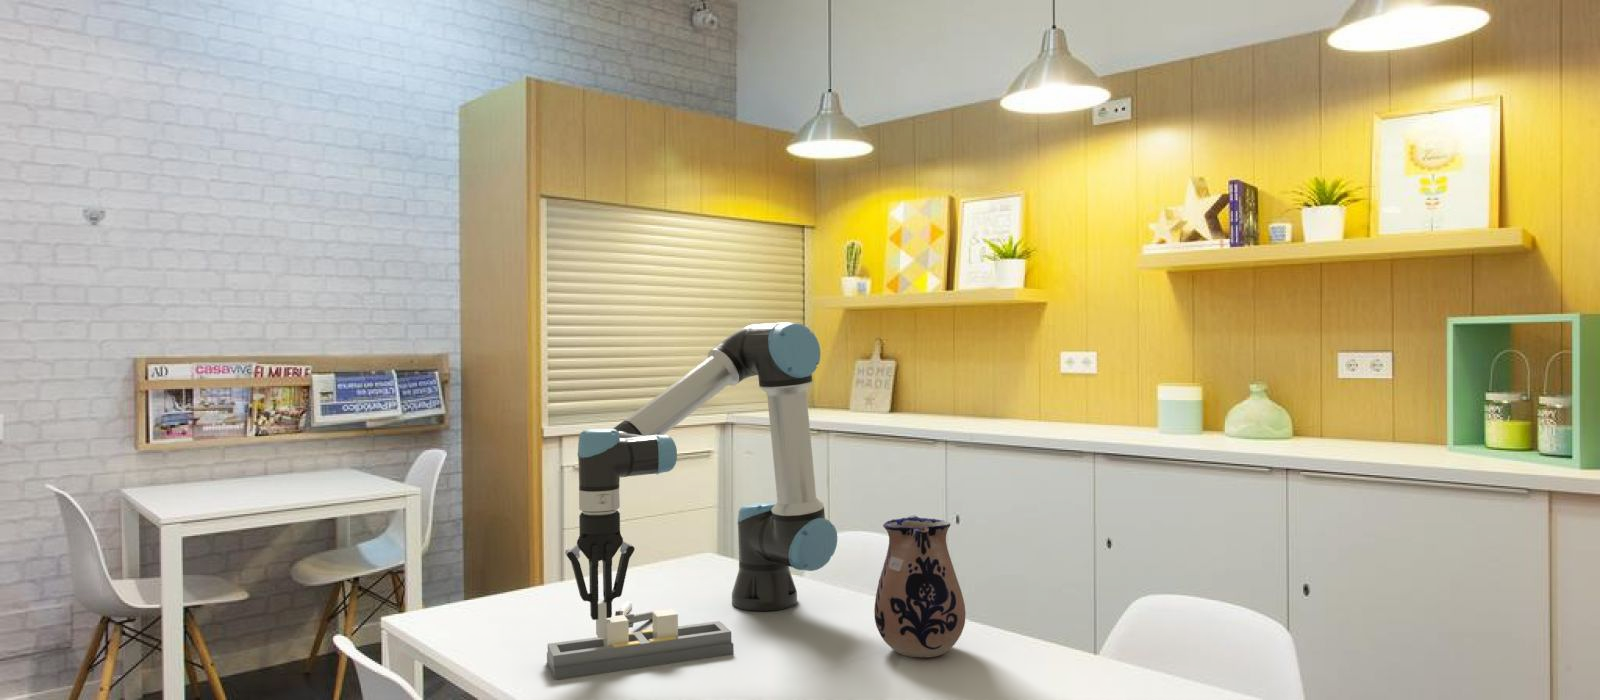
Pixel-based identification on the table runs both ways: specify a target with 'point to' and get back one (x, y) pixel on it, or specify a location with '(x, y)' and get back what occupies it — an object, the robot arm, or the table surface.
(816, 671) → the table surface
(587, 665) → the switch board
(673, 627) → the tab
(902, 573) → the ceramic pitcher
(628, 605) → the marker
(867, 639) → the table surface
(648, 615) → the caliper
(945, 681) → the table surface
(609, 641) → the tab
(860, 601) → the table surface
